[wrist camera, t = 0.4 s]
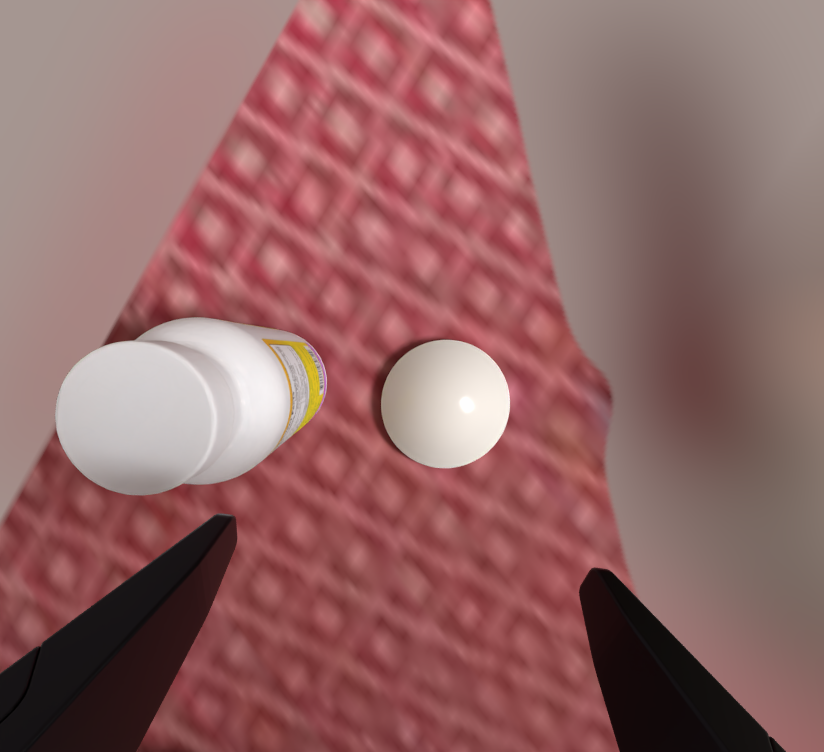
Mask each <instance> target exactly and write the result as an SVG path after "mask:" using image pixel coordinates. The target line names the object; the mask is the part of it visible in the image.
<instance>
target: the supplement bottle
mask: <svg viewBox="0 0 824 752" xmlns="http://www.w3.org/2000/svg"><path fill="white" fill-rule="evenodd" d="M326 389H327V376H326V371H325V367H324V365H323V362H322V360H321V358H320V356H319V355H318V353H317V352H316V350H315V349H314V348H313V347H312V346H311V345H310V344H309V343H308V342H307V341H305V340H304V339H303V338H301V337H299V336H297V335H295V334H293V333H290V332H287V331H283V330H278V329H273V328H266V327H259V326H254V325H247V324H241V323H235V322H230V321H225V320H218V319H212V318H203V317H193V318H182V319H177V320H172V321H169V322H166V323H163V324H161V325H158V326H156V327H154V328H152V329H150V330H148V331H147V332H145V333H144V334H142V335H141V336H139V337H138V338H137V339H136V340H134V341H122V342H116V343H112V344H108V345H105V346H103V347H100V348H98V349H96V350H94V351H92V352H91V353H89V354H88V355H86V356H85V357H83V358H82V359H81V360H80V361H79V362H77V363H76V364H75V365H74V366H73V368H72V369H71V370H70V371H69V373H68V374H67V376H66V377H65V379H64V381H63V383H62V385H61V388H60V390H59V393H58V397H57V402H56V412H55V421H56V429H57V433H58V437H59V440H60V443H61V445H62V447H63V449H64V451H65V453H66V455H67V456H68V458H69V459H70V460H71V462H72V463H73V464H74V465H75V467H76V468H77V469H78V470H79V471H80V472H81V473H82V474H84V475H85V476H86V477H87V478H88V479H90V480H91V481H93V482H95V483H96V484H98V485H100V486H102V487H104V488H106V489H108V490H111V491H114V492H118V493H122V494H128V495H151V494H157V493H161V492H165V491H168V490H170V489H173V488H175V487H177V486H179V485H181V484H183V483H185V484H201V485H203V484H213V483H218V482H223V481H227V480H230V479H232V478H235V477H237V476H240V475H242V474H244V473H245V472H247V471H249V470H251V469H252V468H253V467H255V466H256V465H257V464H259V463H260V462H261V461H262V460H264V459H265V458H266V457H267V456H268V455H269V454H271V453H272V452H273V451H274V450H275V449H277V448H278V447H279V446H280V445H281V444H283V443H284V442H285V441H286V440H287V439H289V438H290V437H291V436H292V435H294V434H295V433H296V432H297V431H298V430H299V429H301V428H302V427H303V426H304V425H305V424H307V423H308V422H309V421H310V420H311V419H312V418H313V417H314V416H315V414H316V413H317V412H318V410H319V409H320V407H321V405H322V403H323V400H324V398H325V394H326Z"/></svg>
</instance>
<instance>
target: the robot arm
mask: <svg viewBox="0 0 824 752" xmlns="http://www.w3.org/2000/svg"><path fill="white" fill-rule="evenodd" d="M236 543H237V527H236V518H235V516H233V515H228V514H216V515H214V516H213V517H212V518H210V519H209V520H208V521H206V522H205V523H203V524H202V525H201V526H199V527H198V528H197V529H195V530H194V531H193V532H191V533H190V534H189V535H187V536H186V537H185V538H183V539H182V540H180V541H179V542H178V543H176V544H175V545H174V546H172V547H171V548H170V549H168V550H167V551H166V552H164V553H163V554H162V555H160V556H159V557H157V558H156V559H155V560H153V561H152V562H151V563H149V564H148V565H147V566H145V567H144V568H143V569H141V570H140V571H139V572H137V573H136V574H134V575H133V576H132V577H130V578H129V579H128V580H126V581H125V582H124V583H122V584H121V585H120V586H118V587H117V588H116V589H114V590H113V591H112V592H110V593H109V594H107V595H106V596H105V597H103V598H102V599H101V600H99V601H98V602H97V603H95V604H94V605H93V606H91V607H90V608H89V609H87V610H86V611H84V612H83V613H82V614H80V615H79V616H78V617H76V618H75V619H74V620H72V621H71V622H70V623H68V624H67V625H66V626H64V627H63V628H61V629H60V630H59V631H57V632H56V633H55V634H53V635H52V636H51V637H49V638H48V639H47V640H45V641H44V642H43V643H42V644H41V647H40V646H38V647H36V648H34V649H33V650H32V651H30V652H29V653H27V654H26V655H25V656H23V657H22V658H21V659H19V660H18V661H17V662H15V663H14V664H13V665H11V666H10V667H8V668H7V669H6V670H4V671H3V672H1V673H0V752H136V751H137V749H138V747H139V745H140V743H141V741H142V740H143V738H144V736H145V734H146V732H147V730H148V728H149V726H150V724H151V722H152V721H153V719H154V717H155V715H156V713H157V711H158V709H159V707H160V705H161V703H162V701H163V700H164V698H165V696H166V694H167V692H168V690H169V688H170V686H171V684H172V682H173V681H174V679H175V677H176V675H177V673H178V671H179V669H180V667H181V665H182V663H183V661H184V660H185V658H186V656H187V654H188V652H189V650H190V648H191V646H192V644H193V642H194V640H195V639H196V637H197V635H198V633H199V631H200V629H201V627H202V625H203V623H204V621H205V619H206V617H207V615H208V613H209V610H210V608H211V606H212V603H213V601H214V599H215V596H216V594H217V591H218V589H219V586H220V584H221V581H222V579H223V577H224V574H225V572H226V569H227V567H228V564H229V562H230V559H231V557H232V554H233V552H234V550H235V547H236ZM579 596H580V601H581V606H582V611H583V616H584V621H585V626H586V630H587V635H588V640H589V645H590V650H591V654H592V659H593V663H594V667H595V670H596V674H597V677H598V681H599V684H600V687H601V691H602V694H603V697H604V701H605V704H606V707H607V711H608V714H609V717H610V721H611V724H612V727H613V731H614V734H615V737H616V741H617V744H618V747H619V751H620V752H786V751H785V750H784V749H783V748H782V747H781V746H780V745H779V744H778V743H777V742H776V741H775V740H774V739H773V738H772V737H769V736H768V733H767V732H766V731H765V730H764V729H763V728H762V727H761V725H759V723H758V722H757V721H756V720H755V719H754V718H753V717H752V716H751V715H750V714H749V713H748V712H747V711H746V710H745V709H744V708H743V707H742V706H741V705H740V704H739V703H738V702H737V701H736V700H735V699H734V698H733V697H732V696H731V694H729V692H727V690H726V689H725V688H724V687H723V686H722V685H721V684H720V683H719V682H718V681H717V680H716V679H715V678H714V677H713V676H712V675H711V674H710V673H709V672H708V671H707V670H706V669H705V668H704V667H703V666H702V665H701V664H700V663H699V661H698V660H697V659H696V658H694V656H693V655H692V654H691V653H690V652H689V651H688V650H687V649H686V648H685V647H684V646H683V645H682V644H681V643H680V642H679V641H678V640H677V639H676V638H675V637H674V636H673V635H672V634H671V633H670V632H669V630H668V629H667V628H666V627H665V626H663V625H662V623H661V622H660V621H659V620H658V619H657V618H656V617H655V616H654V615H653V614H652V613H651V612H650V611H649V610H648V609H647V608H646V607H645V606H644V605H643V604H642V603H641V602H640V600H639V599H638V598H637V597H636V596H635V595H634V594H633V593H632V592H631V591H630V590H629V589H628V588H627V587H626V586H625V585H624V584H623V583H622V582H621V581H620V580H619V579H618V578H617V577H616V576H615V575H614V574H613V573H612V572H611V571H610V570H607V569H602V568H592V569H591V570H590V571H589V573H588V574H587V576H586V578H585V579H584V581H583V583H582V584H581V586H580V590H579Z"/></svg>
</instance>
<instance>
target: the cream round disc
mask: <svg viewBox="0 0 824 752" xmlns="http://www.w3.org/2000/svg"><path fill="white" fill-rule="evenodd" d="M509 410H510V397H509V390H508V386H507V383H506V380H505V378H504V375H503V374H502V372H501V370H500V368H499V367H498V366H497V364H496V363H495V362H494V361H493V360H492V359H491V358H490V357H489V356H488V355H487V354H486V353H485V352H483V351H482V350H480V349H478V348H477V347H475V346H473V345H470V344H468V343H465V342H461V341H455V340H437V341H432V342H428V343H424V344H422V345H420V346H417V347H415V348H414V349H412V350H410V351H409V352H407V353H406V354H405V355H403V356H402V357H401V358H400V359H399V360H398V361H397V363H396V364H395V365H394V367H393V368H392V369H391V371H390V373H389V375H388V377H387V379H386V381H385V384H384V388H383V391H382V398H381V412H382V418H383V422H384V426H385V428H386V430H387V433H388V435H389V436H390V438H391V440H392V441H393V442H394V444H395V445H396V446H397V447H398V448H399V449H400V450H401V451H402V452H403V453H404V454H405V455H407V456H408V457H409V458H411V459H413V460H414V461H416V462H418V463H421V464H423V465H427V466H430V467H436V468H453V467H459V466H463V465H466V464H469V463H471V462H473V461H475V460H477V459H479V458H480V457H482V456H483V455H484V454H486V453H487V452H488V451H489V450H490V449H491V448H492V447H493V446H494V445H495V444H496V442H497V441H498V440H499V438H500V437H501V435H502V433H503V431H504V429H505V426H506V424H507V420H508V416H509Z"/></svg>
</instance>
